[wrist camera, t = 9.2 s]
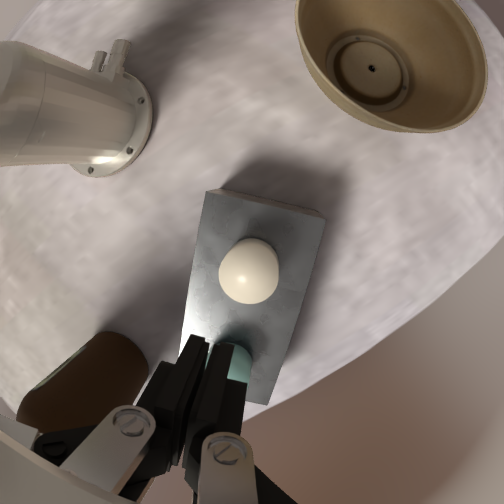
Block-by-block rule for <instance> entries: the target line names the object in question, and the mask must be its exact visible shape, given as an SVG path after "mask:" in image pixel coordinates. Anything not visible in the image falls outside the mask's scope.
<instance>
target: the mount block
mask: <svg viewBox="0 0 504 504" xmlns="http://www.w3.org/2000/svg"><path fill="white" fill-rule="evenodd" d="M325 223H326V219H325V218H324V217H323V216H322V215H321V214H320V213H319V212H318V211H315V210H311V209H307V208H303V207H299V206H295V205H291V204H287V203H283V202H279V201H274V200H270V199H266V198H262V197H257V196H253V195H249V194H244V193H240V192H235V191H231V190H226V189H221V188H219V189H214V190H210V191H206V194H205V199H204V204H203V209H202V214H201V219H200V225H199V230H198V236H197V241H196V247H195V252H194V258H193V264H192V270H191V276H190V282H189V289H188V295H187V302H186V308H185V315H184V322H183V329H182V337H181V344H180V352H179V356H180V354H181V352H182V350H183V348H184V346H185V344H186V342H187V340H188V338H189V336H190V334H194V335H197V336H201V337H205V342H209V343H210V345H209V350H210V349H211V348H212V347H213V346H214V344H219V343H220V342H228V343H234V344H237V345H240V346H241V347H243V348H244V349H245V350H247V352H248V353H249V354H250V356H251V359H252V368H251V374H250V381H249V386H248V389H247V392H246V399H245V401H248V402H253V403H257V404H262V405H268V403H269V400H270V397H271V394H272V392H273V389H274V386H275V383H276V381H277V378H278V375H279V372H280V369H281V367H282V364H283V361H284V358H285V355H286V352H287V349H288V346H289V343H290V340H291V337H292V334H293V331H294V328H295V325H296V322H297V319H298V315H299V312H300V309H301V306H302V303H303V299H304V296H305V293H306V290H307V286H308V283H309V280H310V276H311V273H312V269H313V266H314V263H315V259H316V256H317V252H318V248H319V245H320V241H321V238H322V234H323V230H324V226H325ZM249 238H254V239H259V240H262V241H264V242H266V243H268V244H269V245H270V246H271V247H272V248H273V249H274V251H275V252H276V254H277V257H278V261H279V278H278V284H277V287H276V289H275V291H274V292H273V294H272V295H271V296H270V297H268V298H267V299H266V300H264V301H262V302H259V303H255V304H244V303H240V302H237V301H235V300H233V299H232V298H230V297H229V296H228V295H227V294H226V293H225V292H224V290H223V289H222V287H221V285H220V282H219V268H220V265H221V262H222V261H223V259H224V257H225V256H226V254H227V253H228V251H229V250H230V249H231V247H232V246H233V245H234V244H236V243H237V242H239V241H241V240H244V239H249Z"/></svg>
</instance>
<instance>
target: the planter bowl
mask: <svg viewBox="0 0 504 504" xmlns="http://www.w3.org/2000/svg"><path fill="white" fill-rule="evenodd" d="M295 25H296V32H297V36H298V39H299V43H300V48H301V52H302V55H303V58H304V61H305V63H306V66H307V68H308V70H309V72H310V74H311V75H312V77H313V79H314V80H315V82H316V83H317V85H318V86H319V87H320V89H321V90H322V91H323V92H324V93H325V95H326V96H327V97H328V98H329V99H330V100H331V101H332V102H333V103H335V104H336V105H337V106H338V107H339V108H341V109H342V110H343V111H345V112H346V113H348V114H349V115H351V116H353V117H354V118H356V119H358V120H360V121H362V122H364V123H366V124H369V125H371V126H374V127H377V128H381V129H385V130H389V131H395V132H408V133H413V132H414V133H435V132H442V131H446V130H450V129H453V128H456V127H458V126H460V125H462V124H463V123H464V122H466V121H467V120H469V119H470V118H471V117H472V116H473V115H474V114H475V113H476V111H477V110H478V109H479V107H480V105H481V103H482V101H483V99H484V96H485V93H486V89H487V82H488V68H487V60H486V55H485V51H484V48H483V45H482V42H481V40H480V37H479V35H478V33H477V31H476V29H475V27H474V26H473V24H472V22H471V21H470V19H469V18H468V16H467V15H466V14H465V12H464V11H463V10H462V8H461V7H460V6H459V5H458V4H457V3H456V1H455V0H297V1H296V6H295ZM371 65H372V66H373V67H374V68H375V72H371V71H370V70H369V66H371Z"/></svg>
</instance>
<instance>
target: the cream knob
mask: <svg viewBox="0 0 504 504" xmlns="http://www.w3.org/2000/svg"><path fill="white" fill-rule="evenodd" d="M278 278H279V261H278V257H277V254H276V252H275V251H274V249H273V248H272V247H271V246H270V245H269V244H268V243H266V242H264V241H262V240H259V239H254V238H249V239H244V240H241V241H239V242H237V243H236V244H234V245H233V246H232V247H231V249H230V250H229V251H228V253H227V254H226V256H225V257H224V259H223V261H222V262H221V265H220V268H219V282H220V285H221V287H222V289H223V290H224V292H225V293H226V294H227V295H228V296H229V297H230V298H232V299H233V300H235V301H237V302H240V303H244V304H255V303H259V302H262V301H264V300H266V299H267V298H268V297H270V296H271V295H272V294H273V292H274V291H275V289H276V287H277V284H278Z"/></svg>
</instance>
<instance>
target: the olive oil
mask: <svg viewBox="0 0 504 504" xmlns="http://www.w3.org/2000/svg"><path fill="white" fill-rule="evenodd" d="M147 377H148V365H147V362H146V359H145V357H144V355H143V354H142V352H141V351H140V350H139V348H138V347H137V346H136V345H135V344H134V343H133V342H131V341H130V340H129V339H127V338H126V337H124V336H122V335H120V334H117V333H114V332H101V333H99V334H97V335H95V336H94V337H93V338H92V339H91V340H89V341H88V342H87V343H86V344H85V345H84V346H83V347H81V348H80V349H79V350H78V351H77V352H75V353H74V354H73V355H72V356H71V357H70V358H68V359H67V360H66V361H65V362H64V363H62V364H61V365H60V366H59V367H58V368H57V369H55V370H54V371H53V372H52V373H51V374H50V375H48V376H47V377H46V378H45V379H44V380H42V381H41V382H40V383H39V384H38V385H36V386H35V387H34V388H33V389H32V390H31V391H29V392H28V393H27V395H26V396H25V397H24V398H23V400H22V402H21V404H20V406H19V409H18V412H17V417H16V421H17V422H20V423H22V424H25V425H27V426H30V427H33V428H36V429H38V430H39V433H42V434H44V433H48V432H53V431H60V430H67V429H73V428H79V427H85V426H90V425H96V424H100V423H101V422H102V421H103V420H104V418H105V417H106V416H107V415H108V414H109V413H110V412H111V411H112V410H114V409H115V408H117V407H119V406H123V405H133V403H134V401H135V399H136V397H137V396H138V394H139V392H140V390H141V389H142V387H143V385H144V383H145V381H146V379H147Z"/></svg>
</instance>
